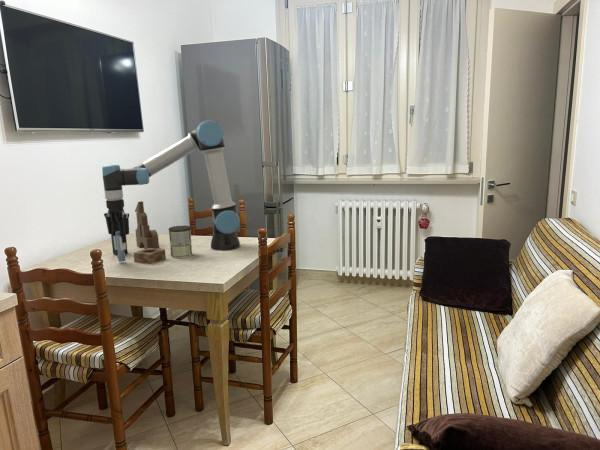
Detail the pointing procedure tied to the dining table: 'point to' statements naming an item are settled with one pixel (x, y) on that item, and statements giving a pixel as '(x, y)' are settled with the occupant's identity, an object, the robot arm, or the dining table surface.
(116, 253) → the wine bottle
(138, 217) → the wooden toy
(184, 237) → the glass jar
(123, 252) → the grey rod
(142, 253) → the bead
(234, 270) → the dining table surface
